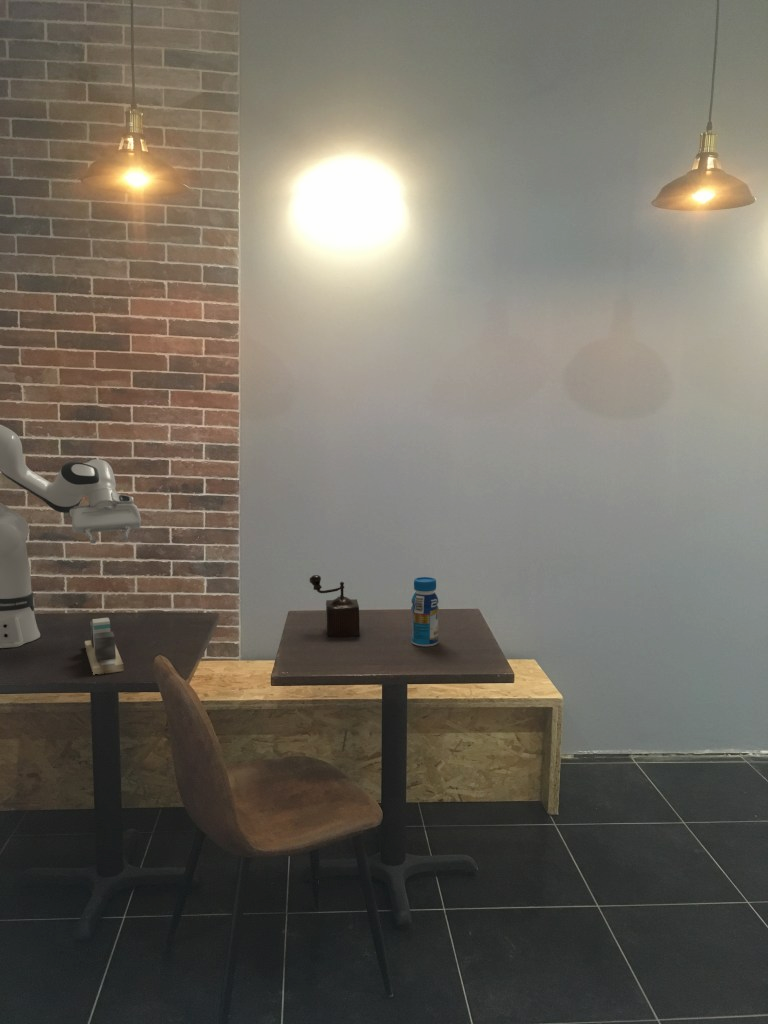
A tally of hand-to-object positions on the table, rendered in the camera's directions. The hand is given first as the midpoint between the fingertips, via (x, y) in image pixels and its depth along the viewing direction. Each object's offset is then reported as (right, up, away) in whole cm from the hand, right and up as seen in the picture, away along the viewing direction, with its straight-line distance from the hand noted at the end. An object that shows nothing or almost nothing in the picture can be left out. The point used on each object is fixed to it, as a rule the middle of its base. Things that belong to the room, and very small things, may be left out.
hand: (109, 540), depth 250 cm
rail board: (+2, -34, -12) cm, 36 cm away
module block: (+2, -31, -12) cm, 34 cm away
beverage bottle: (+96, -31, +2) cm, 101 cm away
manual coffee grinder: (+68, -30, +13) cm, 75 cm away
